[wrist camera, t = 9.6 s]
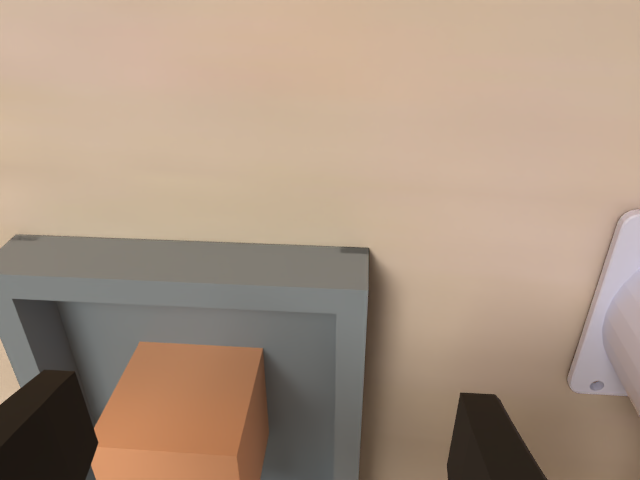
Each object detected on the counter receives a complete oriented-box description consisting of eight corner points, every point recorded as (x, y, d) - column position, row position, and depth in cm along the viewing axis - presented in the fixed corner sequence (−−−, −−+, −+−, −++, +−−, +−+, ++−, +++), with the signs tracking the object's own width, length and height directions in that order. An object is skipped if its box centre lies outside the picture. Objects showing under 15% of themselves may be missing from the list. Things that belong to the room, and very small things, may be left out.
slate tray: (368, 247, 19) (368, 290, 17) (355, 503, 27) (354, 554, 25) (15, 234, 20) (-26, 273, 18) (102, 485, 28) (80, 533, 26)
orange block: (262, 348, 22) (236, 456, 17) (269, 432, 24) (247, 544, 20) (139, 341, 22) (84, 446, 18) (159, 425, 25) (114, 534, 20)
